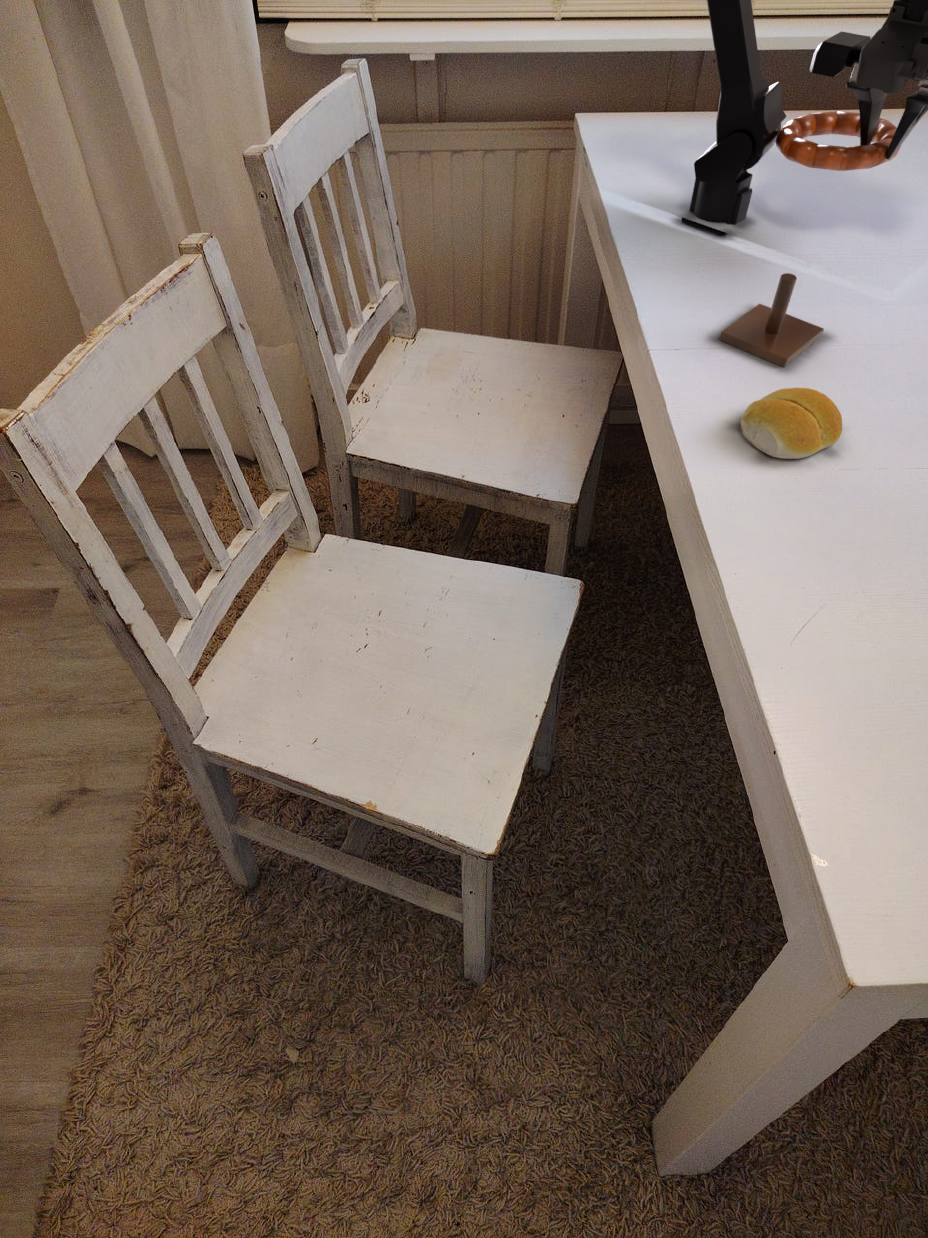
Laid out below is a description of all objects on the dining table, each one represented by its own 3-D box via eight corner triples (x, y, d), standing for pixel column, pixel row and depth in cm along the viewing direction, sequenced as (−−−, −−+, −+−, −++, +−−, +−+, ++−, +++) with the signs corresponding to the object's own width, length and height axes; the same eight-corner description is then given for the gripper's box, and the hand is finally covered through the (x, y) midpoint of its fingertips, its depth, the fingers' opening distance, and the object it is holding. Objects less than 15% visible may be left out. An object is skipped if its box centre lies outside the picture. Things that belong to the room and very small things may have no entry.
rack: (718, 339, 87) (734, 278, 82) (757, 311, 91) (774, 250, 86) (784, 367, 84) (804, 305, 78) (821, 336, 87) (843, 275, 82)
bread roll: (852, 438, 76) (868, 403, 73) (787, 473, 73) (801, 438, 70) (787, 396, 80) (799, 361, 77) (723, 427, 77) (733, 392, 74)
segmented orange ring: (750, 150, 97) (755, 128, 95) (828, 122, 101) (834, 100, 100) (842, 183, 89) (849, 160, 87) (923, 151, 93) (931, 128, 92)
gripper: (808, -12, 79) (767, 157, 91) (1001, 20, 71) (928, 201, 83) (857, -35, 84) (812, 128, 97) (1044, -8, 76) (969, 166, 88)
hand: (875, 155), depth 91 cm, fingers closed on segmented orange ring, 3 cm apart
